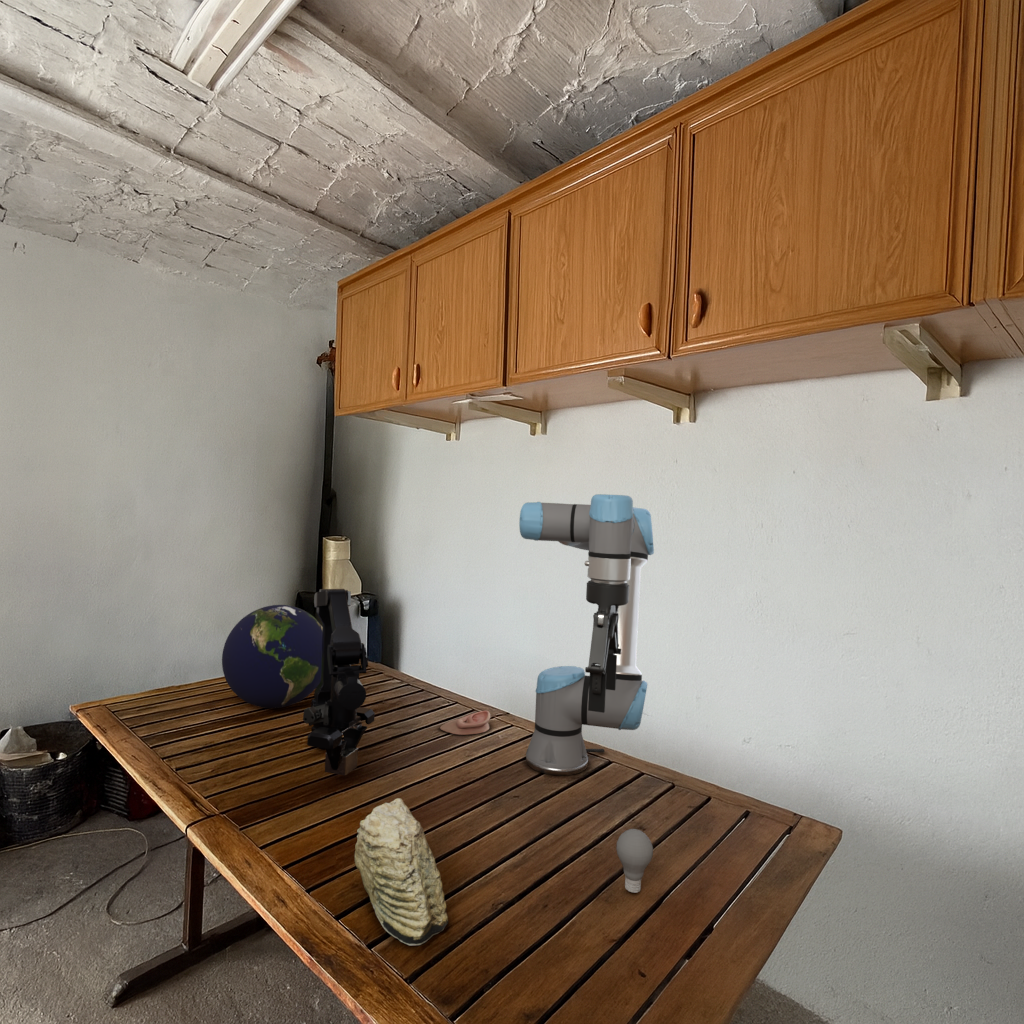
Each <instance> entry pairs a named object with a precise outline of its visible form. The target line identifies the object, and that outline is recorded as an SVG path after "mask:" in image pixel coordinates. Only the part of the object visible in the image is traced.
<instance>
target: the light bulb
mask: <svg viewBox="0 0 1024 1024" xmlns="http://www.w3.org/2000/svg"><path fill="white" fill-rule="evenodd" d="M615 849H616V854H617V857H618V859H619V861H620V863H621V865H622V867H623V873H624V874H623V875H624V876H625V878H624V888H625V890H627V891H628V892H630V893H634V894H635V893H639V892H640V891H641V889H642V887H641V886H642V879H643V877H644V875H645V871H646V868H647V867H648V866H649V864H650V863H651V861H652V859H653V855H654V847H653V843H652V841H651V838H649V836H648V835H647V834H646V833H645V832H643V831H642V830H641V829H636V828H629V829H627V830H625V831H623V832H622V833H621V834H620V835H619V837H618V839H617V841H616V847H615Z"/></svg>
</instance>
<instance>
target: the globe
mask: <svg viewBox="0 0 1024 1024" xmlns="http://www.w3.org/2000/svg"><path fill="white" fill-rule="evenodd" d="M322 629H323V625H322V624H321V623H320V621H318V619H317V618H315V616H314V615H312V614H311V613H310V612H308V611H305V610H304V609H302V608H299V607H297V606H292V605H290V604H289V605H288V604H272V605H266V606H263V607H260V608H257V609H255V610H253V611H251V612H250V613H248V614H246V615H245V616H243V618H241V619H240V620H239V621H238V622H237V623H235V625H234V627H232V629H231V631H230V632H229V634H228V635H227V637H226V640H225V642H224V645H223V649H222V654H221V666H222V672H223V676H224V678H225V679H224V680H225V681H226V683H227V685H228V687H229V688H230V689H231V691H232V692H233V693H234V694H235V695H236V696H237V697H238V698H239V699H240V700H242V701H244V702H245V703H247V704H248V705H251V706H254V707H258V708H262V709H282V708H285V707H289V706H293V705H295V704H298V703H299V702H301V701H303V700H304V699H306V698H307V697H309V696H310V695H311V694H312V693H313V692H314V691H315V689H316V688H317V686H318V685H319V683H320V682H321V666H322Z"/></svg>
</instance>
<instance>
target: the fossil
mask: <svg viewBox="0 0 1024 1024" xmlns="http://www.w3.org/2000/svg"><path fill="white" fill-rule="evenodd" d="M356 831H357V832H356V833H357V835H356V840H357V841H356V843H355V846H354V847H355V848H354V850H355V851H354V864H355V867H356V868H357V870H358V871H359V874H360V877H361V880H362V884H363V888H364V890H365V892H366V893H367V895H368V897H369V901H370V903H371V905H372V908H373V910H374V913H375V916H376V918H377V920H378V922H379V923H380V925H381V926H382V928H383V929H384V931H385V932H387V933H388V934H389V935H390V936H392V937H393V938H395V939H397V940H398V941H399V942H400V943H403V944H405V945H407V946H409V947H410V946H421V945H423V944H425V943H427V942H428V940H430V939H431V938H432V937H433V936H435V935H438V934H439V933H441V932H443V931H444V929H445V928H446V926H447V925H448V924H449V917H448V914H447V903H446V901H445V892H444V890H443V887H444V886H443V881H442V880H441V879H442V878H441V876H442V875H441V873H440V870H439V869H438V867H437V863H436V858H435V857H434V854H433V851H432V849H431V848H430V845H429V843H428V841H427V838H426V836H425V835H426V834H425V832H424V828H423V827H422V825H421V822H420V821H418V820H417V819H416V818H415V816H413V814H412V812H411V810H410V809H409V807H408V806H407V805H406V804H405V802H404V800H403V799H402V798H401V797H397V798H395V799H393V800H392V801H390V802H384V803H383V804H380V805H377V806H376V807H374V808H372V811H371V813H369V814H368V815H367V816H365V818H364V819H363V820H360V822H359V828H357V830H356Z"/></svg>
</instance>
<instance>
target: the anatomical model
mask: <svg viewBox="0 0 1024 1024" xmlns="http://www.w3.org/2000/svg"><path fill="white" fill-rule="evenodd" d="M490 720H491V712H490V711H489V710H487V709H486V710H481V711H477V712H474V713H470V714H467V715H464V716H462V717H459V718H456V719H452V720H448V721H447V722H445V723H443V724H442V725H440V727H439V729H440V730H441V731H443V732H446V733H449V734H453V735H457V736H463V735H466V736H467V735H476V734H481V733H485V732H487V731H489V730H490V724H489V722H490Z"/></svg>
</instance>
